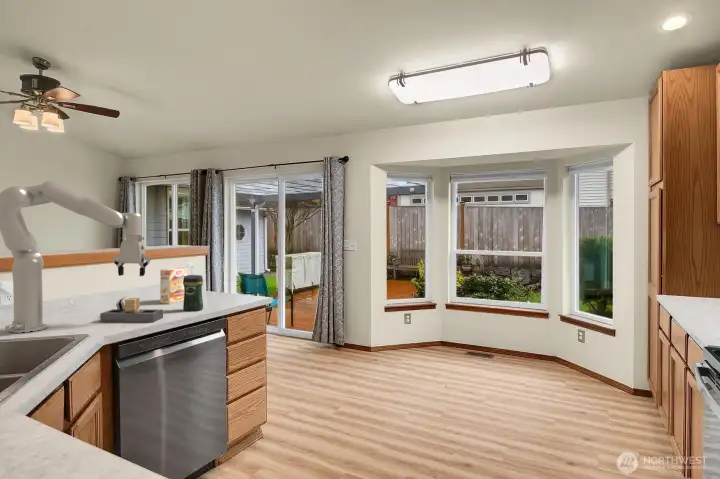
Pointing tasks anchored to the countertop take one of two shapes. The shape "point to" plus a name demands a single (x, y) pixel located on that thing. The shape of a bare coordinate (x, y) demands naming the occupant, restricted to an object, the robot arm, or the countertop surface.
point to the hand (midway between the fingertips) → (131, 275)
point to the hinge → (123, 302)
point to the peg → (132, 305)
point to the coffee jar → (193, 293)
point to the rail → (131, 315)
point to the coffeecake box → (172, 285)
